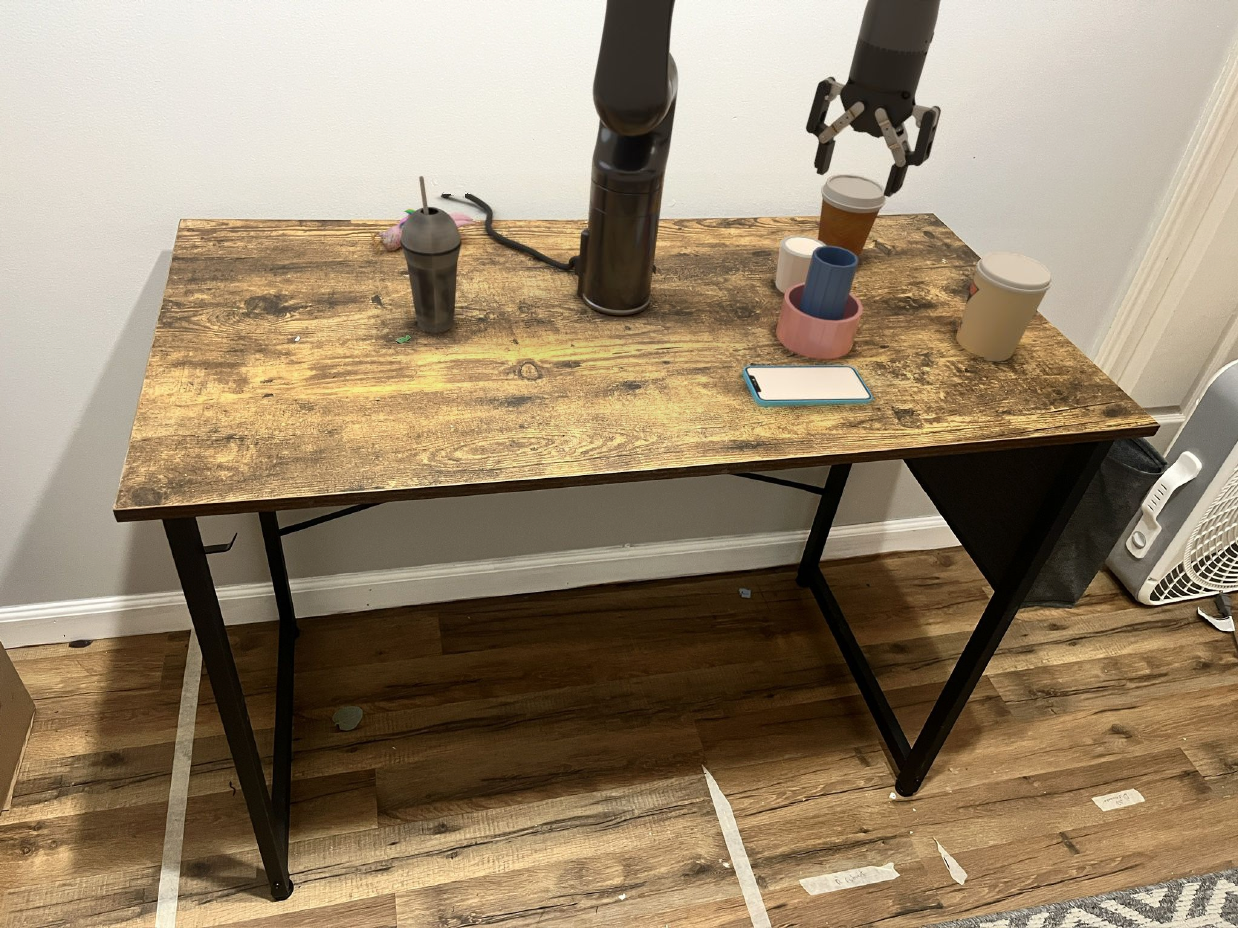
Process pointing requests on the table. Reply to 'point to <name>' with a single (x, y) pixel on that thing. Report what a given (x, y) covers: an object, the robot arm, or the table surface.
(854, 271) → the blue cup
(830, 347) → the pink cup
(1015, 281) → the coffee cup
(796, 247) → the white cylinder
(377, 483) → the table surface
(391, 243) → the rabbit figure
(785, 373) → the smartphone
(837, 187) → the disposable coffee cup
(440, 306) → the beverage cup
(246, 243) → the table surface
